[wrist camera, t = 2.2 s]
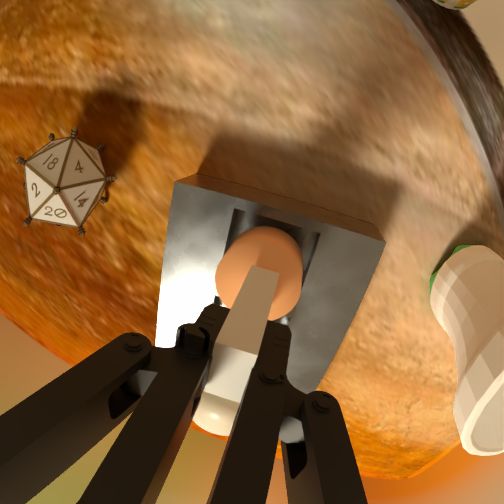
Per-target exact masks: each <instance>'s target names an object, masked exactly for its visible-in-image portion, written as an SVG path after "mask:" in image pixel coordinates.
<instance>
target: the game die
mask: <svg viewBox="0 0 504 504" xmlns="http://www.w3.org/2000/svg"><path fill="white" fill-rule="evenodd" d="M71 131H72V132H71V137H65V138H60V139H55V136H54V134H52V133H50V135H49V140H51V141H50V142H49V143H48V144H46V145H45V146H44V147H42V148H41V149H40V150H38V151H37V152H36V153H34V154H33V155H32V156H31V157H29V158H28V159H27V160H24V158H21V157H18V158H15V159H16V160H17V162H18V163H20V164H23V165H24V177H25V183H24V184H23V187H24V188H25V189H26V197H27V205H28V212H29V217H28V218H26V220H24V225H23V227H25V226H29V224H30V222H31V220H36V221H42V222H48V223H53V224H56V225H57V226H58V227H59V226H60V225H64V226H70V227H76V228H78V229H79V231H78V232H79V235H81V236H82V237H84V235H85V232H86V231H84V229H83V227H82V225H83V224H84V222H85V221H86V219H87V218H88V216H89V215H90V214H91V212H92V211H93V209H94V208H95V207H96V205H97V204H98V203H99V201H101V203H103V204H104V203H106V202H108V201H107V198H105V197H102V194H103V191H104V188H105V185H106V182H107V181H110V182H111V181H112V182H114V180H116V179H117V177H115V176H114V175H109V176H107V175H106V172H105V169H104V166H103V163H102V160H101V157H100V154H99V151H100V150H102V149H104V145H105V144H100V145H98V147H97V148H95V147H93V146H91V145H89V144H87V143H86V142H84V141H82V140H80V139H78V138H76V137H75V136H76V135H77V132H78V130H77V128H76V126H75V127H74V128H73V129H71ZM54 139H55V140H54Z"/></svg>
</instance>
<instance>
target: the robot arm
mask: <svg viewBox="0 0 504 504" xmlns="http://www.w3.org/2000/svg"><path fill="white" fill-rule="evenodd" d="M279 274H280V273H277V272H274V271H271V270H268V269H264V268H261V267H258V266H254V265H252V266H251V268H250V270H249V272H248V274H247V276H246V278H245V280H244V282H243V284H242V286H241V289H240V291H239V293H238V295H237V297H236V299H235V301H234V303H233V305H232V307H231V309H229V308H226V307H223V306H220V305H217V304H214V303H211V304H209V305H207V306H206V307H204V308H203V310H202V311H201V313H200V315H199V316H198V318H197V320H196V321H195V323H185V324H182V325H180V326H179V327H178V328H177V330H176V339H175V346H173V347H157V346H152V345H151V342H150V340H149V339H148V338H147V337H146V336H144V335H142V334H140V333H134V332H130V333H125V334H122V335H120V336H119V337H117V338H116V339H114V340H113V341H111V342H110V343H108V344H107V345H105V346H104V347H102V348H101V349H99V350H98V351H96V352H95V353H93V354H92V355H90V356H89V357H87V358H86V359H84V360H83V361H81V362H80V363H78V364H77V365H75V366H74V367H72V368H71V369H69V370H68V371H66V372H65V373H63V374H62V375H61V376H59V377H57V378H56V379H54V380H53V381H51V382H50V383H48V384H47V385H45V386H44V387H42V388H41V389H40V390H38V391H37V392H35V393H34V394H32V395H31V396H29V397H28V398H26V399H25V400H23V401H22V402H20V403H19V404H17V405H16V406H14V407H13V408H11V409H10V410H8V411H7V412H5V413H4V414H2V415H1V416H0V504H25V503H27V502H28V501H29V500H30V499H32V498H33V497H34V496H36V495H37V494H38V493H39V492H40V491H42V490H43V489H44V488H45V487H46V486H47V485H49V484H50V483H51V482H52V481H54V480H55V479H56V478H57V477H59V476H60V475H61V474H62V473H63V472H64V471H65V470H67V469H68V468H69V467H70V466H72V465H73V464H74V463H75V462H76V461H77V460H79V459H80V458H81V457H82V456H83V455H84V454H86V453H87V452H88V451H89V450H90V449H91V448H92V447H94V446H95V445H96V444H97V443H98V442H99V441H100V440H102V439H103V438H104V437H105V436H106V435H107V434H108V433H109V432H110V431H112V430H113V429H114V428H115V427H116V426H117V425H118V424H120V423H121V422H122V421H123V420H124V419H125V418H126V417H127V416H128V415H129V414H131V413H132V412H133V413H132V415H131V416H130V418H129V419H128V421H127V423H126V424H125V426H124V427H123V429H122V431H121V432H120V434H119V436H118V437H117V439H116V441H115V442H114V444H113V445H112V447H111V449H110V450H109V452H108V453H107V455H106V457H105V458H104V460H103V462H102V463H101V465H100V467H99V468H98V470H97V472H96V473H95V475H94V477H93V478H92V480H91V482H90V483H89V485H88V486H87V488H86V490H85V491H84V493H83V495H82V497H81V498H80V500H79V501H78V502H77V503H76V504H155V503H156V500H157V498H158V496H159V494H160V492H161V489H162V487H163V485H164V483H165V480H166V478H167V476H168V474H169V471H170V469H171V467H172V465H173V462H174V460H175V458H176V456H177V453H178V451H179V449H180V447H181V444H182V442H183V440H184V438H185V435H186V433H187V431H188V428H189V426H190V424H191V422H192V419H193V417H194V415H195V412H196V410H197V408H198V406H199V403H200V400H201V395H202V392H203V390H204V391H205V392H207V393H210V394H213V395H216V396H219V397H222V398H226V399H229V400H232V401H235V402H238V403H240V405H239V408H238V410H237V413H236V416H235V418H234V421H233V426H232V429H231V432H230V435H229V438H228V441H227V444H226V447H225V450H224V453H223V457H222V459H221V463H220V465H219V468H218V471H217V474H216V477H215V480H214V483H213V486H212V489H211V492H210V495H209V498H208V501H207V503H206V504H265V503H266V499H267V494H268V489H269V485H270V480H271V475H272V470H273V464H274V459H275V454H276V449H277V443H278V439H280V440H281V448H282V456H283V464H284V472H285V480H286V488H287V497H288V504H368V503H367V499H366V496H365V492H364V488H363V484H362V481H361V477H360V473H359V470H358V466H357V463H356V459H355V456H354V452H353V449H352V445H351V442H350V438H349V435H348V432H347V428H346V425H345V421H344V418H343V415H342V412H341V408H340V405H339V403H338V401H337V400H336V399H335V398H334V397H333V396H332V395H331V394H329V393H327V392H323V391H312V392H310V393H308V394H305V393H303V392H301V391H300V390H298V389H296V388H295V387H294V386H293V385H292V384H291V383H290V382H289V380H288V378H287V375H286V371H287V365H288V358H289V351H290V344H291V337H292V333H291V330H290V328H289V326H288V325H284V324H281V323H278V322H274V321H271V320H268V316H269V312H270V309H271V305H272V301H273V297H274V293H275V290H276V286H277V282H278V278H279ZM204 388H205V389H204Z"/></svg>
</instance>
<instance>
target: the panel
mask: <svg viewBox="0 0 504 504" xmlns="http://www.w3.org/2000/svg"><path fill="white" fill-rule="evenodd" d="M258 226H270V227H274V228H278V229H280V230H282V231H284V232H286V233H287V234H289V235H290V236H291V237H292V238H293V239H294V240H295V241H296V243H297V244H298V246H299V248H300V250H301V253H302V256H303V273H302V286H301V294H300V297H299V300H298V302H297V303H296V305H295V307H294V308H293V309H292V310H291V311H290V312H289V313H287V314H286V315H284V316H283V317H281V318H279V319H276V320H273V321H274V322H278V323H281V324H284V325H288V326H289V328H290V330H291V333H292V337H291V344H290V351H289V358H288V365H287V371H286V375H287V378H288V380H289V382H290V383H291V384H292V385H293V386H294V387H295V388H296V389H298V390H300V391H301V392H303V393H305V394H308V393H310V392H312V391H315V390H316V388H317V387H318V385H319V383H320V381H321V379H322V378H323V376H324V374H325V372H326V370H327V369H328V367H329V365H330V363H331V361H332V359H333V357H334V356H335V354H336V352H337V350H338V348H339V346H340V344H341V342H342V340H343V338H344V336H345V334H346V332H347V330H348V328H349V326H350V324H351V322H352V320H353V318H354V316H355V314H356V311H357V309H358V307H359V305H360V303H361V301H362V299H363V296H364V294H365V292H366V290H367V287H368V285H369V283H370V281H371V278H372V276H373V274H374V271H375V269H376V266H377V264H378V262H379V259H380V257H381V254H382V252H383V249H384V247H385V244H386V242H385V240H384V239H383V237H382V236H381V234H380V233H379V231H378V230H377V228H376V227H375V225H373V224H370V223H367V222H364V221H361V220H358V219H355V218H352V217H349V216H346V215H343V214H340V213H336V212H333V211H330V210H327V209H324V208H320V207H317V206H314V205H311V204H307V203H304V202H301V201H297V200H294V199H290V198H287V197H283V196H280V195H276V194H273V193H269V192H266V191H262V190H258V189H255V188H251V187H247V186H244V185H240V184H236V183H232V182H228V181H225V180H221V179H217V178H213V177H209V176H205V175H200V174H193V175H191V176H188V177H185V178H183V179H180V180H177V181H175V183H174V189H173V195H172V201H171V208H170V214H169V221H168V228H167V235H166V243H165V251H164V259H163V267H162V277H161V286H160V296H159V307H158V319H157V333H156V346H157V347H173V346H175V339H176V330H177V328H178V327H179V326H180V325H182V324H185V323H195V321H196V320H197V318H198V316H199V315H200V313H201V311H202V310H203V308H204V307H206V306H207V305H209V304H211V303H214V304H217V305H220V306H223V307H226V306H225V305H224V304H223V302H222V301H221V299H220V298H219V296H218V293H217V290H216V287H215V272H216V269H217V266H218V264H219V262H220V261H221V259H222V258H223V256H224V255H225V253H226V252H227V251H228V249H229V248H230V246H231V245H232V243H233V242H234V241H235V239H236V238H237V237H238V236H239V235H240V234H241V233H243V232H244V231H246V230H248V229H250V228H254V227H258ZM226 308H227V307H226Z"/></svg>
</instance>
